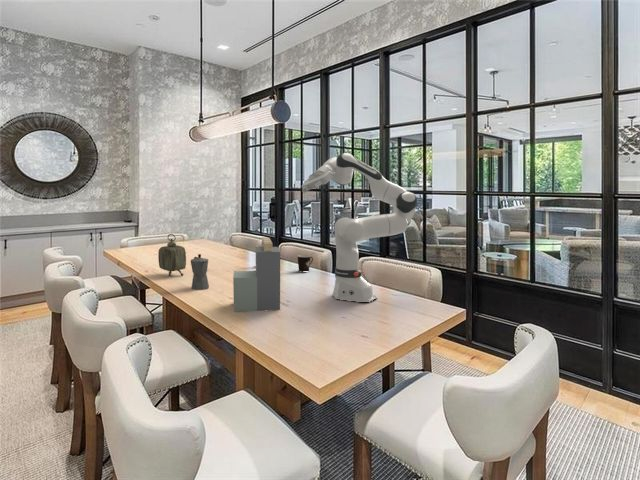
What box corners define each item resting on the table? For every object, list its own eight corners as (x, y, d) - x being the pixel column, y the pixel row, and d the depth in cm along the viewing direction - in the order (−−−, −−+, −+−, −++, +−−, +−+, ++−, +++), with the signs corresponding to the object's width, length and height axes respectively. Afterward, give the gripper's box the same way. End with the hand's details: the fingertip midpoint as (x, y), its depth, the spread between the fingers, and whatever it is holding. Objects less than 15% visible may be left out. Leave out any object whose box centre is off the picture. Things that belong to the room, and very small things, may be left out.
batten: (261, 244, 193) (261, 237, 192) (269, 244, 193) (269, 237, 193) (264, 251, 173) (264, 243, 173) (272, 251, 174) (272, 243, 173)
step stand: (234, 302, 186) (233, 247, 182) (277, 300, 190) (277, 246, 186) (233, 311, 172) (233, 252, 169) (280, 309, 176) (280, 251, 173)
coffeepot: (213, 289, 209) (212, 255, 206) (194, 291, 203) (194, 256, 201) (203, 283, 221) (203, 251, 219) (186, 285, 216) (185, 252, 214)
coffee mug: (299, 273, 251) (299, 257, 250) (295, 270, 259) (295, 255, 258) (316, 272, 255) (317, 256, 254) (312, 269, 263) (312, 254, 262)
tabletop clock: (186, 276, 238) (185, 234, 234) (173, 278, 230) (172, 235, 227) (170, 272, 245) (169, 232, 242) (157, 275, 238) (156, 233, 234)
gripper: (339, 175, 212) (325, 189, 203) (314, 185, 227) (300, 198, 218) (332, 165, 210) (318, 178, 201) (307, 176, 225) (294, 189, 217)
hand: (309, 189), depth 210 cm, fingers open, 8 cm apart
